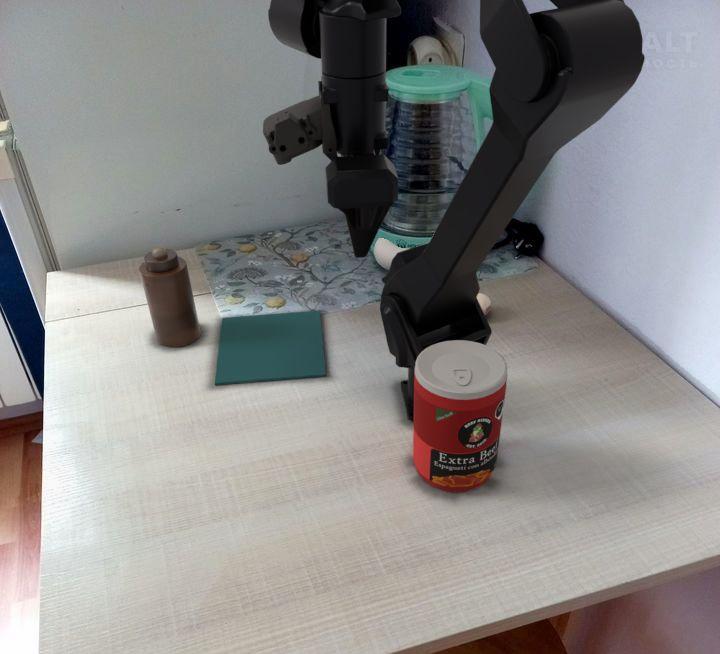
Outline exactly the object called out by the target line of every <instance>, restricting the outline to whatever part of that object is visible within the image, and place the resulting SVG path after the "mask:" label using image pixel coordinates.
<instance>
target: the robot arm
mask: <svg viewBox="0 0 720 654" xmlns="http://www.w3.org/2000/svg"><path fill="white" fill-rule="evenodd" d="M549 2H551V3H552V4H553V5H554V6H555V7H556V8H551V9H545V10H541V11H537V12H532V13H531V12H530V13H529V11H528V8H527V7H526V5H525V3H524V0H479V36H480V39H481V41H482V43H483V46H484V47H485V49H486V51H487V53H488V56H489V57H490V60H491V62H492V64H493V66H494V67H495V69H494V72H493V75H492V78H491V81H490V85H489V88H488V89H489V99H490V106H491V113H492V114H491V115H492V124H491V125H490V127H489V130H488V131H487V133H486V135H485V137H484V139H483V141H482V143H481V145H480V146H479V148H478V150H477V152H476V154H475V156H474V158H473V160H472V162H471V163H470V165H469V166H468V169H467V170H466V172H465V174H464V176H463V178H462V180H461V182H460V183H459V186H458V187H457V190H456V191H455V193H454V195H453V196H452V199H451V201H450V202H449V204H448V206H447V207H446V210H445V212H444V213H443V215H442V217H441V219H440V221H439V223H438V224H437V227H436V229H435V230H434V231H433V232H434V234H433V236H432V238H431V240H430V241H429V243H426V244H423V245H419V246H416V247H413V248H410V249H407V250H404V251H401V252H398V253H397V254H396V255H395V257H394V258H393V260H392V262H391V266H390V269H389V270H388V272H387V274H386V275H385V276H383V277H381V282H382V283H383V284H384V286H383V287H382V291H381V294H380V305H379V311H380V315H381V321H382V326H383V329H384V334H385V335H384V336H385V339H386V345H387V347H388V352H389V354H390V355H392V356H393V357H394V358H395V365H396V366H397V367H398V368H406V369H407V379H404V380H401V381H400V389H401V395H402V399H403V404H404V408H405V412H406V416H407V419H408V420H409V421H411V422H414V376H415V365H416V360H417V357H418V356H419V354H420V353H421V352H422V351H423V350H425V349H426V348H428V347H430V346H431V345H434V344H437V343H440V342H445V341H452V340H465V341H473V342H477V343H481V344H484V345H486V346H487V345H488V342H489V339H490V337H491V335H492V332H493V331H492V328H491V325H490V323H489V321H488V320H487V316H486V315H484V313H483V310H482V308H481V306H480V304H479V302H478V300H477V295H478V293H480V290H481V289H480V288H481V287H480V286H481V285H480V281H479V278H478V273H477V272H478V270H479V268H480V267H481V265H482V264H483V262H484V261H485V259H486V258H487V256H488V255H489V253H490V252H491V251H492V249H493V248H494V246H495V244H496V243H497V241H498V240H499V239H500V238H501V235H502V234H503V233H504V231H505V230H506V228H507V227H508V225H509V224H510V222H511V221H512V219H513V217H514V216H515V215H516V213H517V211H519V209H520V207H521V206H522V204H523V203H524V202H525V199H526V198H527V196H528V195H529V194H530V192H531V190H532V189H533V188H534V186H535V184H536V183H537V182H538V180H539V179H540V177H541V176H542V174H543V172H544V171H545V170H546V169H547V166H549V164H550V162H551V161H552V159H553V158H554V156H555V155H556V154H557V153H558V151H559V150H560V149H562V148H564V147H565V146H566V145H567V144H568V143H570V142H571V141H573V140H574V139H575V138H577V137H578V136H579V135H581V134H582V133H583V132H585V131H586V130H587V129H590V128H591V126H593V125H595V124H596V123H597V122H599V121H600V120H602V118H603V117H604V116H605V115H606V114H607V113H608V112H609V111H610V110H611V109H612V108H613V107H614V106H615V105H616V104H617V103H618V102H619V101H620V100H621V99H622V98H623V97H624V96H625V95H626V94H627V93H628V92H629V91H630V89H632V87H634V85H635V84H636V82H637V80H638V78H639V76H640V74H641V72H642V70H643V66H644V63H645V58H646V57H645V54H644V53H643V41H644V39H643V34H642V30H641V24H640V21H639V20H638V18H637V16H636V15H635V13H634V11H633V9H632V8H630V7H629V6H628V5H627V4H626V3H625V1H624V0H549ZM267 14H268V15H267V16H268V17H267V18H268V22H269V27H270V29H271V31H272V34H273V35H274V37H275V38H276V40H277V41H279V42H280V43H281V44H282V45H284V46H286V47H289V48H290V49H294V50H296V51H299V52H301V53H303V54H306V55H308V56H310V57H313V58H315V59H318V60H319V59H320V62H321V79H320V80H318V81H317V83H318V95H316V96H314V97H311V98H309V99H305V100H302V101H300V102H299V101H298V102H297V103H295V104H293V105H290V106H288V107H286V108H284V109H281V110H279V111H277V112H274V113H272V114H270V115H269V116H267V117H266V118H265V119H264V120H263V122H262V134H263V136H264V138H265V140H266V142H267V145H268V152H269V153H270V154H271V155H272V156H273V158H274V161H275V162H276V164H277V165H278V166H279V165H280V166H282V165H286V164H288V163H291V162H292V161H293V159H295V158H297V157H299V156H301V155H304V154H306V153H308V152H311V151H314V150H315V149H317V148H320V147H321V148H322V154H323V155H325V156H326V157H327V158H328V159H329V160H330V162H329V163H328V165H326V166H325V169H324V170H325V184H326V198H327V204H329V205H330V206H331V207H332V208H333V209H337V210H339V211H340V212H341V213H343V214H344V217H345V221H346V225H347V228H348V232H349V237H350V241H351V245H352V250H353V255H354V257H355V258H356V259H359V258H360V259H363V258H366V257H367V256H368V254H369V251H370V249H371V247H372V245H373V243H374V241H375V239H376V237H377V235H378V232H379V230H380V229H381V226H382V224H383V222H384V220H385V218H386V217H387V215H388V213H389V210H390V209H391V207H392V206H394V205H395V203H396V202H397V201H399V179H400V178H399V176H398V173H397V170H396V166H395V164H394V163H393V162H392V161H391V160H390V159H389V158H388V157H387V156H386V155H385V154H381V150H388V149H389V136H388V133H387V130H386V109H387V108H386V106H387V105H386V102H389V85H387V19H390V18H396V17H400V16H401V14H402V8H401V6H400V4H399V1H397V0H270V4H269V9H268V11H267Z"/></svg>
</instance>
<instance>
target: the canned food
mask: <svg viewBox="0 0 720 654" xmlns="http://www.w3.org/2000/svg"><path fill="white" fill-rule="evenodd" d="M507 383H508V364H507V362H506V359H505V357H503V356H502V354H501V353H500V352H498V351H497V350H496V349H494V348H492V347H491V346H488V345H487V344H486V345H484V344H481V343H477V342H473V341H465V340H452V341H445V342H440V343H437V344H434V345H431V346H430V347H428V348H426V349H425V350H423V351H422V352H421V353H420V354H419V356H418V357H417V360H416V365H415V376H414V421H413V425H412V427H413V429H412V430H413V434H412V437H413V438H412V460H413V464H414V467H415V470H416V472H417V474H418V476H419V477H420V478H421V479H422V480H423V481H424V482H425V483H426V484H428V485H429V486H432V487H433V488H435V489H437V490H442V491H445V492H454V493H462V492H468V491H472V490H476V489H478V488H479V487H481V486H483V485H484V484H486V483H487V482H488V481H489V480H490V479H491V477H492V475H493V473H494V471H495V469H496V466H497V461H498V453H499V445H500V439H501V432H502V431H501V430H502V423H503V417H504V416H503V414H504V407H505V401H506V392H507Z"/></svg>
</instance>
